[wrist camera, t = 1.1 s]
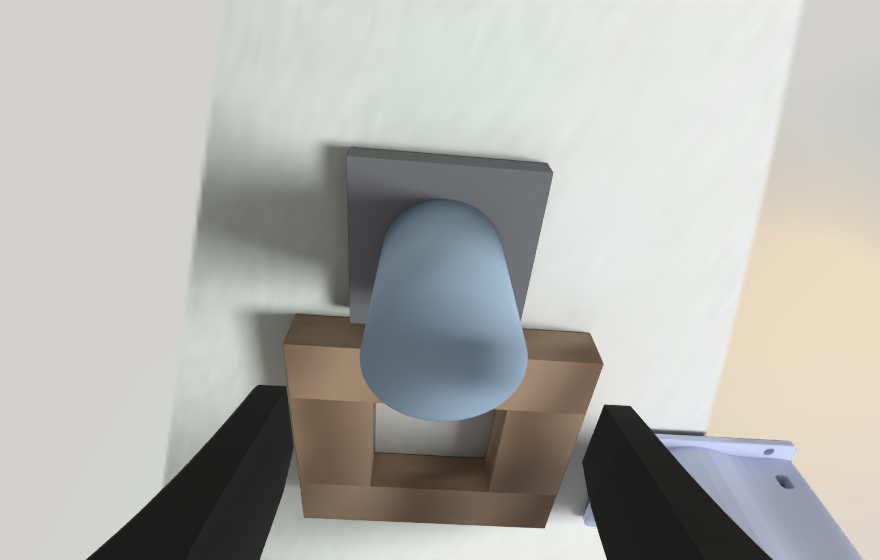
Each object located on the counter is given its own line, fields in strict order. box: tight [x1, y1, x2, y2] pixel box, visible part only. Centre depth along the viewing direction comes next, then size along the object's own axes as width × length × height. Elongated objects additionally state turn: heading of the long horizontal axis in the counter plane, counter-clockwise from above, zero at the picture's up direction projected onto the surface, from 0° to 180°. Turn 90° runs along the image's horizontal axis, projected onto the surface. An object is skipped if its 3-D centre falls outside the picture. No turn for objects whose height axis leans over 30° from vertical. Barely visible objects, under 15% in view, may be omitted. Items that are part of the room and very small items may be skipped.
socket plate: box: [283, 314, 603, 528], centre depth 23 cm, size 13×12×2 cm
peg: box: [360, 199, 528, 421], centre depth 15 cm, size 4×4×6 cm
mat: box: [347, 147, 553, 324], centre depth 18 cm, size 7×7×1 cm
